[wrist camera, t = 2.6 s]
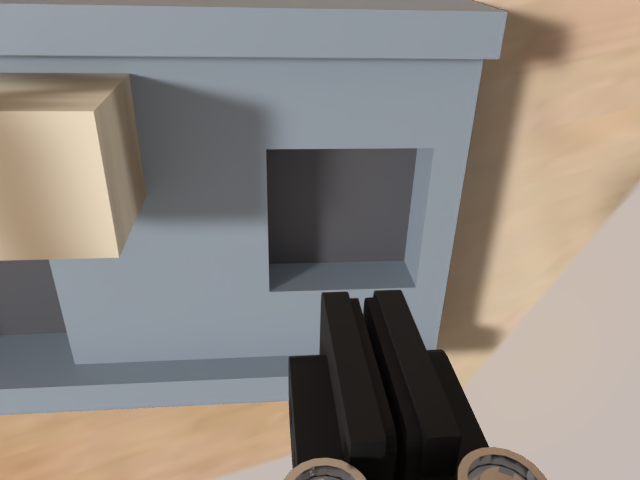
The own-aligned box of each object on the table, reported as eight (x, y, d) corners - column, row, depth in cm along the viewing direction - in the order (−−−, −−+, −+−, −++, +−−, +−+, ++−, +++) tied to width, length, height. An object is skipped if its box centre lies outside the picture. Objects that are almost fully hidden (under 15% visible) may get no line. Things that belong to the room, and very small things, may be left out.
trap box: (466, -2, 23) (525, 17, 18) (418, 336, 32) (448, 416, 27) (-383, -18, 20) (-606, 0, 15) (-180, 360, 29) (-276, 454, 24)
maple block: (129, 73, 21) (93, 111, 16) (146, 195, 23) (119, 257, 19) (-12, 72, 20) (-88, 111, 16) (20, 197, 23) (-38, 261, 18)
